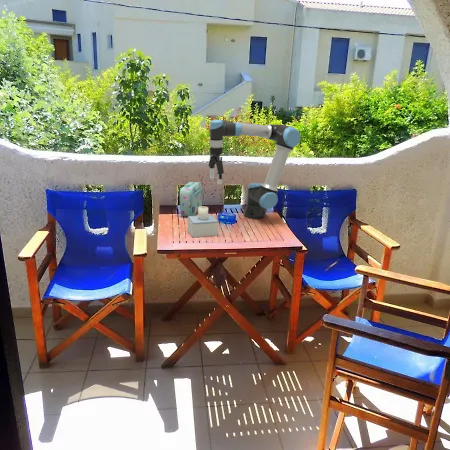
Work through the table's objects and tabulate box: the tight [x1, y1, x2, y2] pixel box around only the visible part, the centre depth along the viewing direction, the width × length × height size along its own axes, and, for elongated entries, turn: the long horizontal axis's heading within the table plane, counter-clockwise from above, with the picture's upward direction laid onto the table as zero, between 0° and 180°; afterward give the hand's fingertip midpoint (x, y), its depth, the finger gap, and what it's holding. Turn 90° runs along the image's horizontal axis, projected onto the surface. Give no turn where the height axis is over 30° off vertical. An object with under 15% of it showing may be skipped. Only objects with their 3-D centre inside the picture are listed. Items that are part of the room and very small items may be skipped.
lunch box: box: [179, 181, 203, 217], centre depth 288 cm, size 27×10×21 cm, turn 168°
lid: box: [187, 214, 219, 224], centre depth 254 cm, size 16×12×1 cm
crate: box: [186, 217, 220, 238], centre depth 256 cm, size 16×12×8 cm
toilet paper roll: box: [197, 205, 209, 220], centre depth 253 cm, size 6×6×7 cm
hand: (215, 181), depth 258 cm, fingers open, 13 cm apart
